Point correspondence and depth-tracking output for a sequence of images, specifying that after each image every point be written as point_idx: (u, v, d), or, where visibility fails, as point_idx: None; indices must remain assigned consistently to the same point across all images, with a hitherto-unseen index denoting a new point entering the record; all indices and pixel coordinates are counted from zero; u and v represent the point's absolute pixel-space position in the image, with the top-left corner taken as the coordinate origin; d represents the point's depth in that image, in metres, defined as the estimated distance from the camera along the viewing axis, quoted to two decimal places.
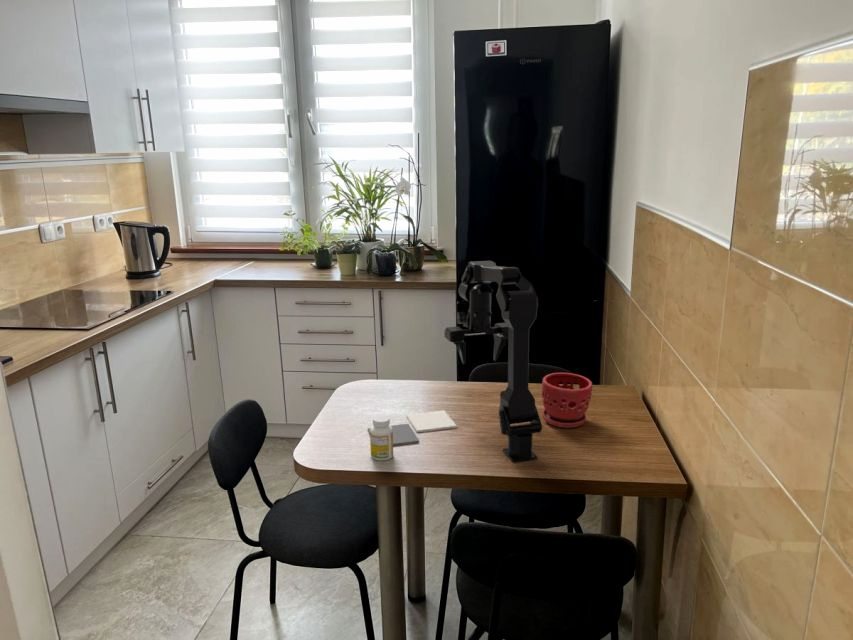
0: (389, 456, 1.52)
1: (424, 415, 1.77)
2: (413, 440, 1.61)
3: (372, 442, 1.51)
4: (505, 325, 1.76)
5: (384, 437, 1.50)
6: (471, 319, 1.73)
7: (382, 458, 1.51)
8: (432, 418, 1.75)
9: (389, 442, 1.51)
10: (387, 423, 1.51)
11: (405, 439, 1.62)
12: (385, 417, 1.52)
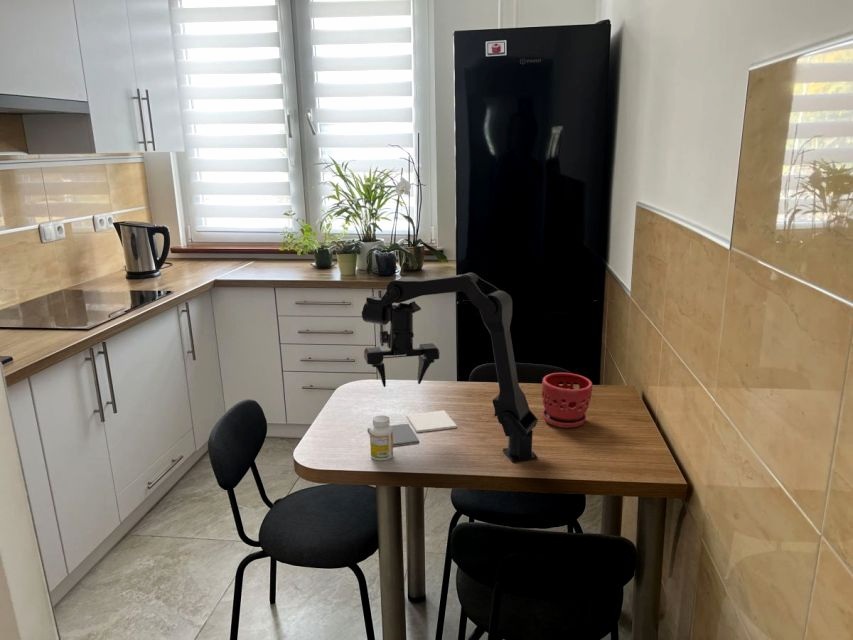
0: (389, 456, 1.52)
1: (424, 415, 1.77)
2: (413, 440, 1.61)
3: (372, 442, 1.51)
4: (429, 346, 1.65)
5: (384, 437, 1.50)
6: (391, 340, 1.61)
7: (382, 458, 1.51)
8: (432, 418, 1.75)
9: (389, 442, 1.51)
10: (387, 423, 1.51)
11: (405, 439, 1.62)
12: (385, 417, 1.52)
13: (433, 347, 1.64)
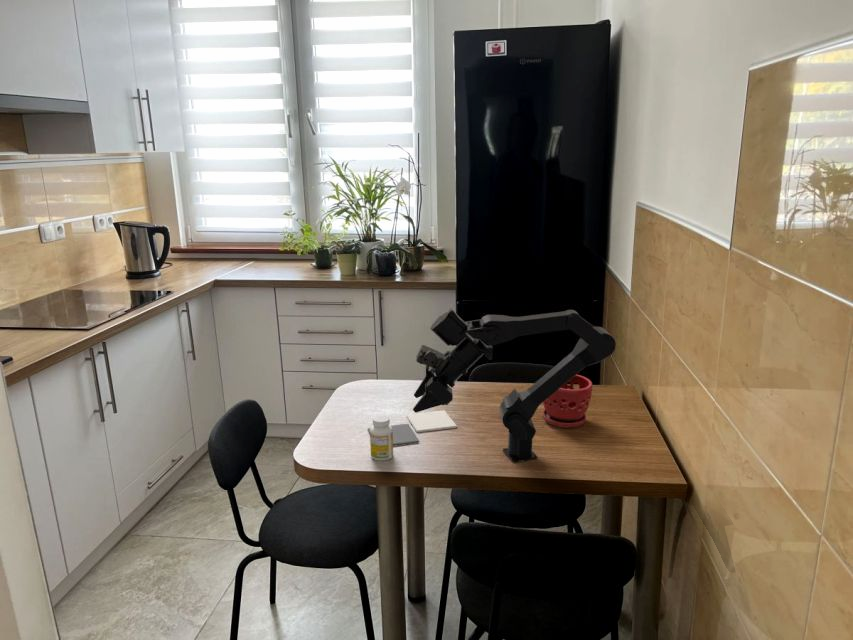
0: (389, 456, 1.52)
1: (424, 415, 1.77)
2: (413, 440, 1.61)
3: (372, 442, 1.51)
4: None
5: (384, 437, 1.50)
6: (454, 373, 1.46)
7: (382, 458, 1.51)
8: (432, 418, 1.75)
9: (389, 442, 1.51)
10: (387, 423, 1.51)
11: (405, 439, 1.62)
12: (385, 417, 1.52)
13: None
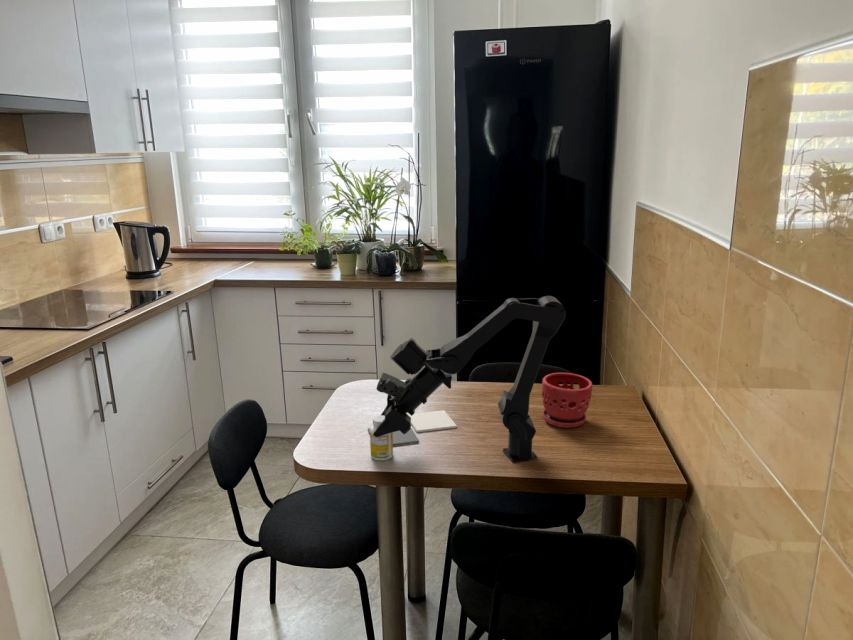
0: (389, 456, 1.52)
1: (424, 415, 1.77)
2: (413, 440, 1.61)
3: (372, 442, 1.51)
4: None
5: (384, 437, 1.50)
6: (414, 401, 1.48)
7: (382, 458, 1.51)
8: (432, 418, 1.75)
9: (389, 442, 1.51)
10: None
11: (405, 439, 1.62)
12: None
13: None
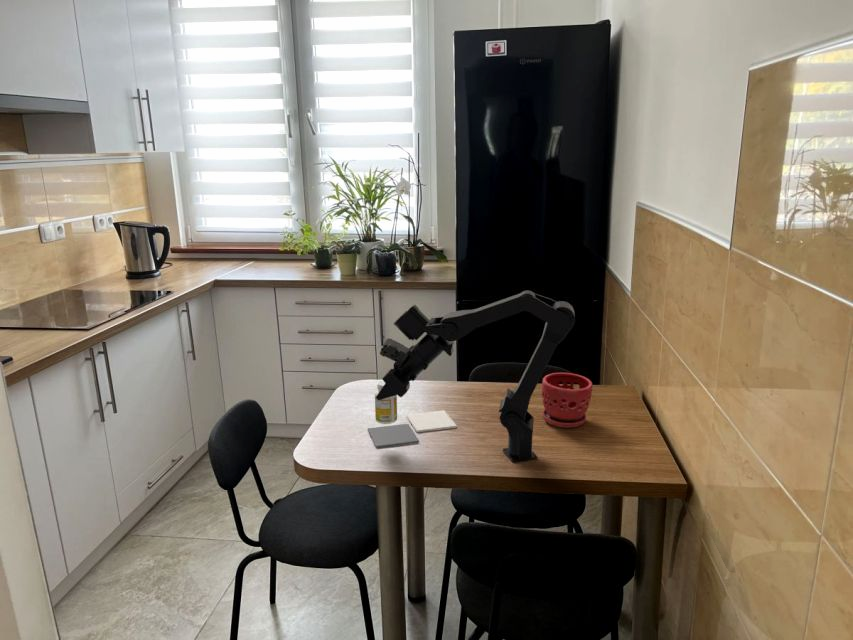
0: (392, 420, 1.56)
1: (424, 415, 1.77)
2: (413, 440, 1.61)
3: (376, 405, 1.56)
4: None
5: (386, 401, 1.54)
6: (414, 367, 1.51)
7: (385, 421, 1.56)
8: (432, 418, 1.75)
9: (392, 406, 1.55)
10: None
11: (405, 439, 1.62)
12: None
13: None
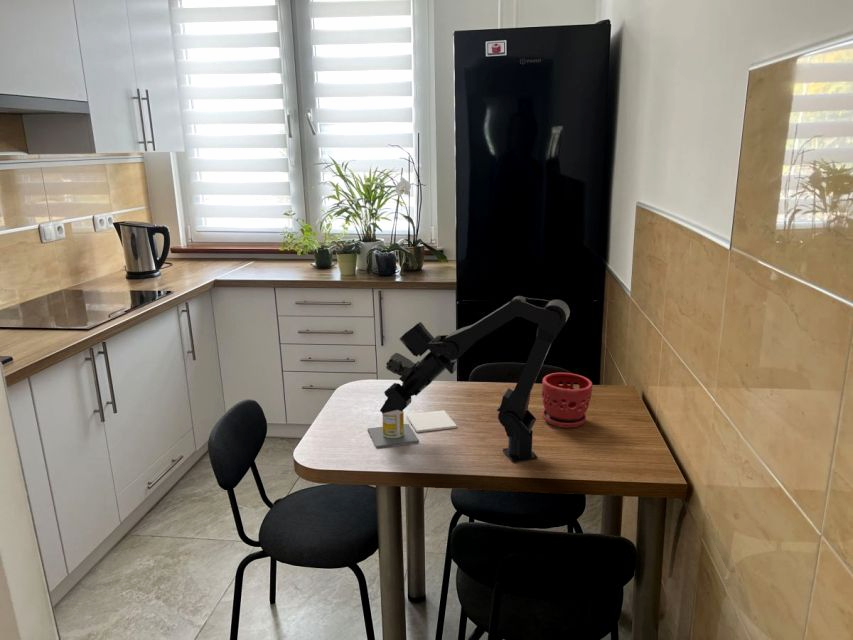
0: (397, 435, 1.62)
1: (424, 415, 1.77)
2: (413, 440, 1.61)
3: (383, 420, 1.63)
4: None
5: (392, 417, 1.60)
6: (417, 382, 1.56)
7: (390, 436, 1.62)
8: (432, 418, 1.75)
9: (398, 422, 1.61)
10: None
11: (405, 439, 1.62)
12: None
13: None
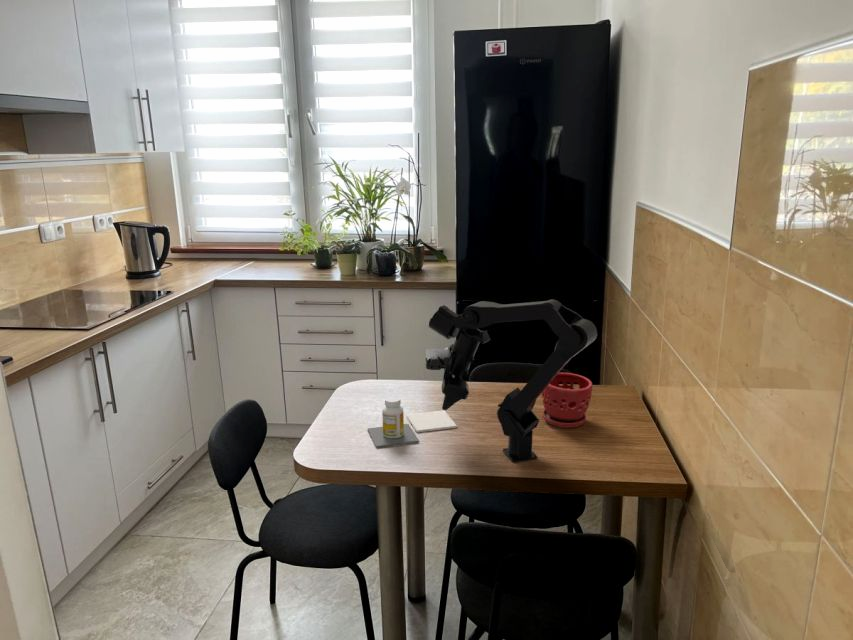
0: (397, 435, 1.62)
1: (424, 415, 1.77)
2: (413, 440, 1.61)
3: (383, 420, 1.63)
4: None
5: (392, 417, 1.60)
6: (463, 365, 1.56)
7: (390, 436, 1.62)
8: (432, 418, 1.75)
9: (398, 422, 1.61)
10: (396, 404, 1.61)
11: (405, 439, 1.62)
12: (397, 398, 1.62)
13: None
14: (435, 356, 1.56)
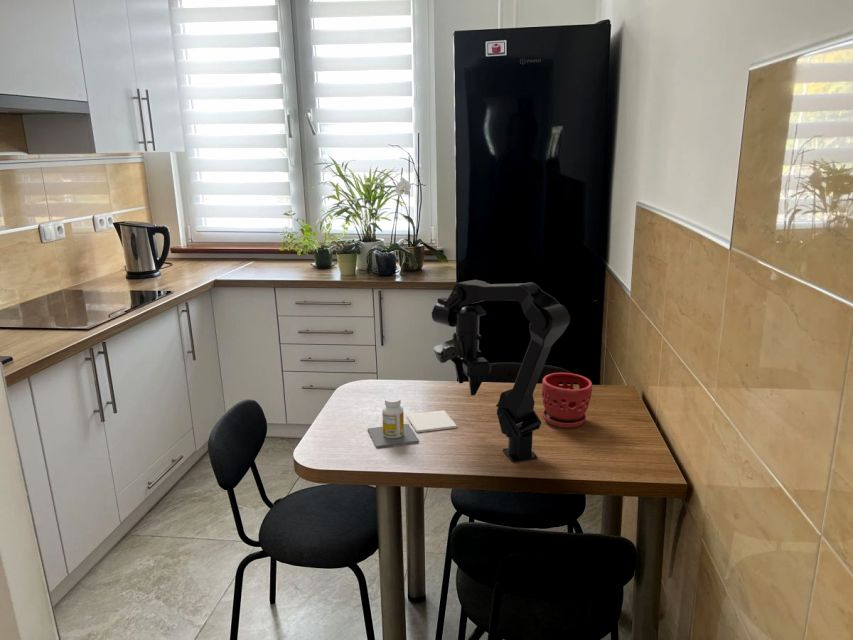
0: (397, 435, 1.62)
1: (424, 415, 1.77)
2: (413, 440, 1.61)
3: (383, 420, 1.63)
4: None
5: (392, 417, 1.60)
6: (473, 344, 1.59)
7: (390, 436, 1.62)
8: (432, 418, 1.75)
9: (398, 422, 1.61)
10: (396, 404, 1.61)
11: (405, 439, 1.62)
12: (397, 398, 1.62)
13: None
14: (445, 347, 1.58)
